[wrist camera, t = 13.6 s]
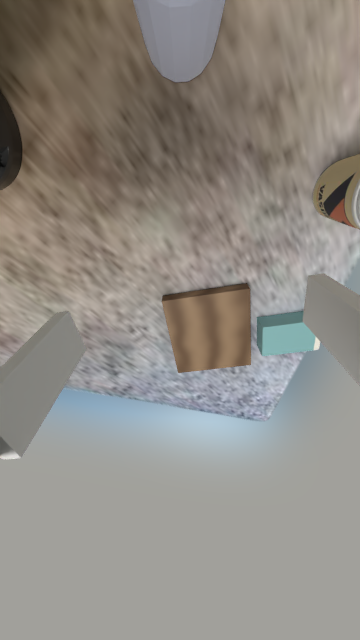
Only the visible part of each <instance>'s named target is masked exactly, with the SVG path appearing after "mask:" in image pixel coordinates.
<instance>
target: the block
mask: <svg viewBox="0 0 360 640" xmlns="http://www.w3.org/2000/svg"><path fill="white" fill-rule="evenodd" d="M303 313H304V311H301V312H293V313H286V314H278V315H271V316H263V317H257V346H258V348H259V350H260V352H261V355H262V356H268V355H277V354H286V353H294V352H303V351H311V350H319V345H320V341H319V339H318V338H317V337H316V336H315V335H314V334H313V333H312V332H311V330H310V329H309V328H308V327H307V326H306V325H305V324H304V322H303Z"/></svg>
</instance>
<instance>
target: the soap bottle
mask: <svg viewBox="0 0 360 640" xmlns="http://www.w3.org/2000/svg"><path fill="white" fill-rule="evenodd" d="M133 2H134V6H135V9H136V13H137V17H138V20H139V24H140V28H141V31H142V35H143V39H144V42H145V45H146V48H147V51H148V54H149V56H150V59H151V62H152V64H153V65H154V66H155V67H156V69H157V70H158V71H159V72H160V73H161V75H162V76H164V77H166V78H168V79H170V80H172V81H174V82H187V81H190V80H192V79H193V78H195V77H196V76H198V75H199V74H201V73H202V71H203V70H204V68H205V67H206V65H207V64H208V62H209V61H210V59H211V57H212V54H213V51H214V47H215V44H216V40H217V37H218V32H219V27H220V23H221V18H222V14H223V9H224V5H225V0H133Z"/></svg>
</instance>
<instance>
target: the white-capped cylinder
mask: <svg viewBox="0 0 360 640" xmlns="http://www.w3.org/2000/svg"><path fill="white" fill-rule="evenodd" d="M313 204H314V207H315V209H316V210H317V212H318V213H320V214H321V215H323V216H325V217H327V218H329V219H332V220H335V221H338V222H340V223H343V224H346V225H349V226H351V227H354V228H357V229H360V154H358V155H355V156H351V157H348V158H345V159H343V160H340V161H338V162H336V163H334V164H332V165H331V166H330V167H328V168H327V169H326V170H325V171H324V172H323V173H322V175H321V176H320V177H319V179H318V181H317V183H316V185H315V188H314V192H313Z"/></svg>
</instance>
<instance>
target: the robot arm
mask: <svg viewBox="0 0 360 640" xmlns="http://www.w3.org/2000/svg"><path fill="white" fill-rule="evenodd" d="M21 156H22V148H21V140H20V134H19V130H18V127H17V124H16V121H15V118H14V116H13V114H12V111H11V109H10V107H9V105H8V104H7V102H6V100H5V99H4V97H3V95H2V94H1V92H0V190H2V189H4V188H5V187H7V186H8V185H9V184H11V183H12V181H13V180H14V179H15V177H16V175H17V173H18V171H19V168H20V164H21ZM303 322H304V324H305V325H306V326H307V327H308V328H309V329H310V330H311V332H312V333H313V334H314V335H315V336H316V337H317V338H318V339H319V341H320V342H321V343H322V344H323V345H324V346H325V347H326V348H327V350H328V351H329V352H330V353H331V354H332V355H333V356H334V357H335V359H336V360H337V361H338V362H339V363H340V364H341V365H342V367H343V368H344V369H345V370H346V371H347V372H348V373H349V374H350V375H351V377H352V378H353V379H354V380H355V381H356V382H357V383H358V385H359V386H360V295H358V294H356V293H355V292H353V291H351V290H350V289H348V288H347V287H345V286H343V285H342V284H340V283H338V282H337V281H335V280H334V279H332V278H330V277H329V276H327V275H325V274H317V275H310V276H308V281H307V289H306V297H305V305H304V313H303ZM86 349H87V348H86V346H85V344H84V342H83V340H82V338H81V336H80V334H79V331H78V329H77V327H76V325H75V323H74V321H73V319H72V317H71V315H70V312H69V311H65V312H59V313H56V314H55V315H54V316H53V317H52V318H51V319H50V320H49V321H47V322H46V323H45V324H44V325H43V326H42V327H41V328H40V329H39V330H38V331H37V332H36V333H35V334H34V335H33V336H32V337H31V338H30V339H29V340H28V341H27V342H26V343H25V344H24V345H23V346H22V347H21V348H20V349H19V350H18V351H17V352H16V353H15V354H14V355H13V356H12V357H11V358H10V359H9V360H8V361H7V362H6V363H5V364H4V365H3V366H2V367H1V368H0V457H1V458H2V459H14V458H21V457H22V456H23V454H24V452H25V451H26V449H27V447H28V446H29V444H30V442H31V441H32V439H33V437H34V436H35V434H36V432H37V431H38V429H39V427H40V426H41V424H42V422H43V421H44V419H45V417H46V416H47V414H48V412H49V411H50V409H51V407H52V406H53V404H54V403H55V401H56V399H57V398H58V396H59V394H60V393H61V391H62V389H63V388H64V386H65V384H66V383H67V381H68V379H69V378H70V376H71V374H72V373H73V371H74V369H75V368H76V366H77V364H78V363H79V361H80V359H81V358H82V356H83V354H84V353H85V351H86Z"/></svg>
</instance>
